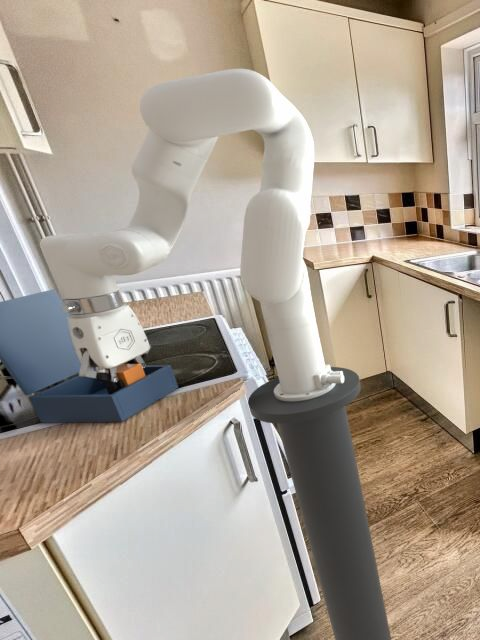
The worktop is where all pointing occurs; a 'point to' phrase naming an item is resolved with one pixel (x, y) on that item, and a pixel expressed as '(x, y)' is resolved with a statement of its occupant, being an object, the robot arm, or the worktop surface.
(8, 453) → the worktop surface
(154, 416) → the worktop surface
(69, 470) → the worktop surface
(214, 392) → the worktop surface
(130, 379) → the orange rectangular block
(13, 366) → the lid
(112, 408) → the lunchbox
